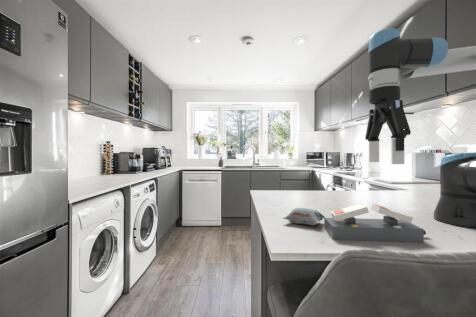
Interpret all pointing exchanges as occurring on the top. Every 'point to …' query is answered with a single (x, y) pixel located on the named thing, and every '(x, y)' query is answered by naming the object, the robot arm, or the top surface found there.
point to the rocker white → (392, 213)
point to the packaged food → (304, 216)
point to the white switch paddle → (349, 212)
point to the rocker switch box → (374, 229)
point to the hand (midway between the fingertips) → (384, 163)
